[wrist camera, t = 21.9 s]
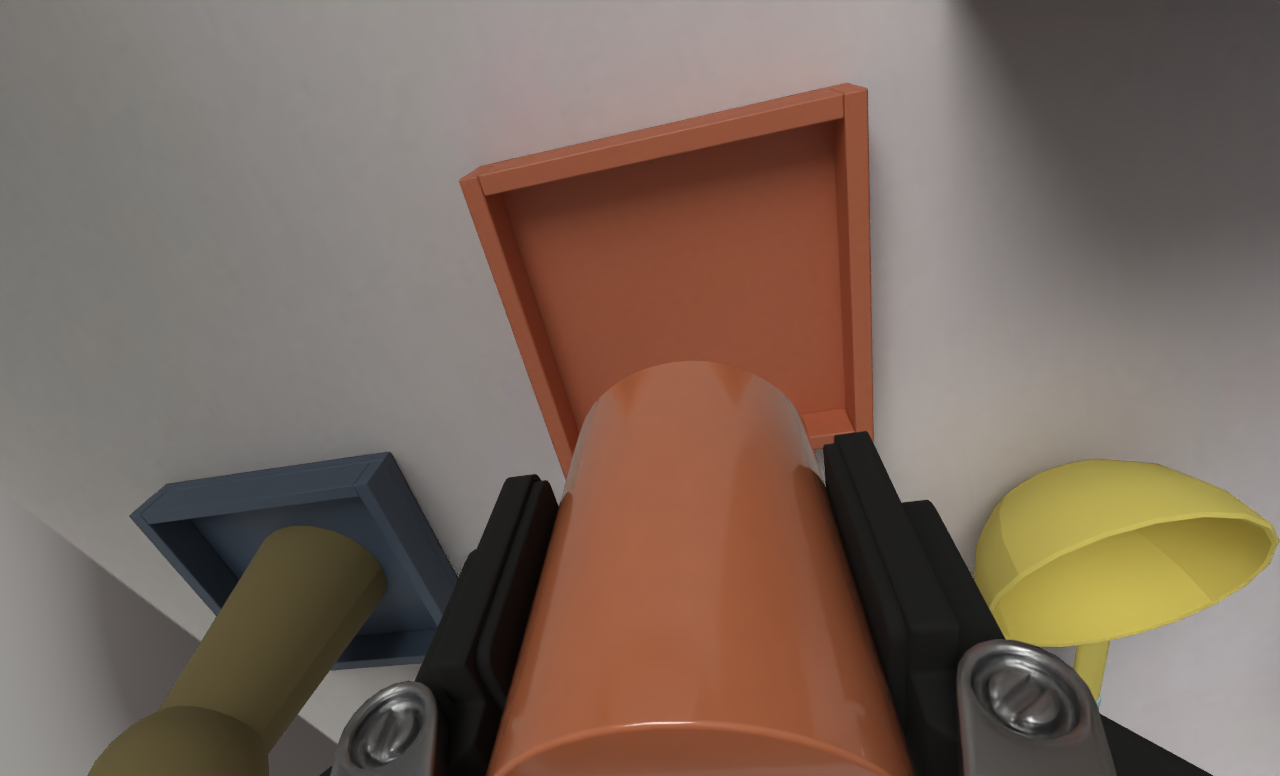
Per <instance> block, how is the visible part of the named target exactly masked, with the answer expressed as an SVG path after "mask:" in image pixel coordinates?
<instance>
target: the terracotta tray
mask: <svg viewBox="0 0 1280 776" xmlns="http://www.w3.org/2000/svg"><path fill="white" fill-rule="evenodd" d="M459 183H460V186H461V188H462V191H463V194H464V197H465V200H466V202H467V205H468V208H469V211H470V214H471V216H472V219H473V222H474V225H475V227H476V230H477V233H478V236H479V239H480V241H481V244H482V247H483V250H484V253H485V255H486V258H487V261H488V264H489V267H490V269H491V272H492V275H493V278H494V281H495V283H496V286H497V289H498V292H499V295H500V297H501V300H502V303H503V306H504V309H505V311H506V314H507V317H508V320H509V323H510V325H511V328H512V331H513V334H514V337H515V339H516V342H517V345H518V348H519V351H520V353H521V356H522V359H523V362H524V365H525V367H526V370H527V373H528V376H529V378H530V381H531V384H532V387H533V390H534V392H535V395H536V398H537V401H538V404H539V406H540V409H541V412H542V415H543V418H544V420H545V423H546V426H547V429H548V432H549V434H550V437H551V440H552V443H553V446H554V448H555V451H556V454H557V457H558V460H559V462H560V465H561V468H562V471H563V474H564V476H565V479H566V480H567V476H568V472H569V469H570V465H571V461H572V458H573V454H574V450H575V447H576V443H577V439H578V436H579V432H580V429H581V427H582V424H583V422H584V419H585V417H586V416H587V414H588V413H589V411H590V409H591V408H592V406H593V405H594V404H595V403H596V402H597V400H598V399H599V398H600V397H601V396H602V395H603V394H604V393H605V392H607V391H608V390H609V389H610V388H611V387H612V386H614V385H615V384H617V383H618V382H620V381H621V380H623V379H624V378H626V377H628V376H630V375H632V374H634V373H636V372H638V371H641V370H644V369H646V368H649V367H652V366H655V365H660V364H664V363H669V362H677V361H687V360H688V361H710V362H717V363H723V364H727V365H731V366H735V367H738V368H741V369H743V370H746V371H748V372H751V373H753V374H755V375H757V376H759V377H761V378H763V379H764V380H766V381H768V382H769V383H771V384H772V385H773V386H775V387H776V388H777V389H779V390H780V391H781V392H782V393H783V394H784V395H785V396H786V397H787V398H788V399H789V400H790V401H791V402H792V403H793V405H794V406H795V407H796V409H797V410H798V411H799V413H800V415H801V416H802V418H803V420H804V422H805V424H806V427H807V430H808V433H809V435H810V439H811V442H812V445H813V448H814V450H815V449H823V446H824V444H832V443H834V436H835V435H838V434H846V433H854V432H861V431H867V432H868V433H869V435H870V437H871V439H872V441H874V433H873V374H872V314H871V254H870V194H869V134H868V90H867V88H864V87H860V86H856V85H852V84H849V83H844V84H840V85H835V86H831V87H827V88H822V89H818V90H813V91H809V92H805V93H800V94H796V95H791V96H787V97H783V98H778V99H774V100H769V101H765V102H761V103H756V104H752V105H747V106H743V107H739V108H734V109H730V110H726V111H721V112H717V113H712V114H708V115H704V116H699V117H695V118H690V119H686V120H682V121H677V122H673V123H668V124H664V125H660V126H655V127H651V128H646V129H642V130H638V131H633V132H629V133H625V134H620V135H616V136H611V137H607V138H603V139H598V140H594V141H589V142H585V143H581V144H576V145H572V146H567V147H563V148H559V149H554V150H550V151H545V152H541V153H537V154H532V155H528V156H523V157H519V158H515V159H510V160H506V161H502V162H497V163H493V164H488V165H484V166H480V167H479V168H477V169H476V170H474V171H473V172H471V173H469V174H468V175H466V176H465V177H463V178H461V179H460V180H459Z"/></svg>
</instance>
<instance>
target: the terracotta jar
mask: <svg viewBox="0 0 1280 776" xmlns="http://www.w3.org/2000/svg"><path fill="white" fill-rule="evenodd" d="M486 776H917V774H916V770H915V767H914V764H913V761H912V758H911V755H910V751H909V748H908V745H907V742H906V739H905V736H904V732H903V729H902V726H901V723H900V720H899V717H898V714H897V710H896V707H895V704H894V701H893V698H892V695H891V691H890V689H889V686H888V682H887V679H886V676H885V673H884V670H883V667H882V663H881V660H880V657H879V654H878V651H877V648H876V644H875V641H874V638H873V635H872V632H871V629H870V625H869V622H868V619H867V616H866V613H865V610H864V606H863V603H862V600H861V597H860V594H859V591H858V587H857V584H856V581H855V578H854V575H853V572H852V568H851V565H850V562H849V559H848V556H847V553H846V550H845V546H844V543H843V540H842V537H841V534H840V531H839V527H838V524H837V521H836V518H835V515H834V512H833V508H832V505H831V502H830V499H829V496H828V493H827V489H826V486H825V483H824V480H823V477H822V473H821V470H820V467H819V464H818V461H817V458H816V454H815V451H814V448H813V445H812V442H811V439H810V435H809V433H808V430H807V427H806V424H805V422H804V420H803V418H802V416H801V415H800V413H799V411H798V410H797V409H796V407H795V406H794V405H793V403H792V402H791V401H790V400H789V399H788V398H787V397H786V396H785V395H784V394H783V393H782V392H781V391H780V390H779V389H777V388H776V387H775V386H773V385H772V384H771V383H769V382H768V381H766V380H764V379H763V378H761V377H759V376H757V375H755V374H753V373H751V372H748V371H746V370H743V369H741V368H738V367H735V366H731V365H727V364H723V363H717V362H710V361H688V360H687V361H677V362H669V363H664V364H660V365H655V366H652V367H649V368H646V369H644V370H641V371H638V372H636V373H634V374H632V375H630V376H628V377H626V378H624V379H623V380H621V381H620V382H618V383H617V384H615V385H614V386H612V387H611V388H610V389H609V390H608V391H607V392H605V393H604V394H603V395H602V396H601V397H600V398H599V399H598V400H597V402H596V403H595V404H594V405H593V406H592V408H591V409H590V411H589V413H588V414H587V416H586V417H585V419H584V422H583V424H582V427H581V429H580V432H579V436H578V439H577V443H576V447H575V450H574V454H573V458H572V461H571V465H570V469H569V472H568V476H567V480H566V483H565V487H564V491H563V494H562V498H561V502H560V505H559V509H558V512H557V516H556V520H555V523H554V527H553V531H552V534H551V538H550V542H549V545H548V549H547V553H546V556H545V560H544V564H543V567H542V571H541V575H540V578H539V582H538V586H537V589H536V593H535V597H534V600H533V604H532V608H531V611H530V615H529V619H528V622H527V626H526V630H525V633H524V637H523V641H522V644H521V648H520V652H519V655H518V659H517V663H516V666H515V670H514V674H513V677H512V681H511V685H510V688H509V692H508V696H507V699H506V703H505V707H504V710H503V714H502V718H501V721H500V725H499V729H498V732H497V736H496V740H495V743H494V747H493V751H492V754H491V758H490V762H489V765H488V769H487V773H486Z"/></svg>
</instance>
